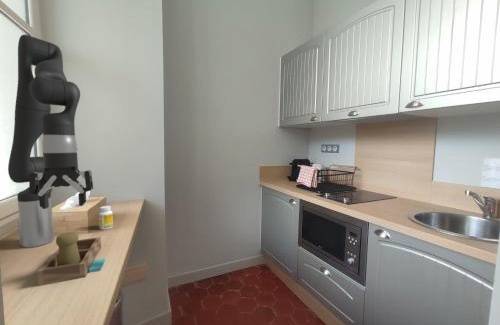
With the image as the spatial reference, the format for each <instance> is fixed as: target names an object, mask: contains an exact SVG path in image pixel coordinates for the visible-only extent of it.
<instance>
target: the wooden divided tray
mask: <svg viewBox="0 0 500 325" xmlns="http://www.w3.org/2000/svg"><path fill="white" fill-rule="evenodd" d="M77 247H78V251H79V255H80V259H81V262H80V263H73V264H67V265H61V266H57V261H58V251H59V248H58V249H57V250H56V251H55V252H54V253H53V254H52V255H51V256H50V257H49V258H48V259H47V260H46V261H45V262H44V263H43V264H42V266H41V267H40V268H38V270H37V271H36V274H37V275H36V276H37V286H43V285H49V284H54V283H59V282H64V281H65V282H66V281H70V280H71V281H72V280H76V279H81V278H86V277H87V275H88V273H93V272H98V271H99V272H100V271H101V270H102V268H103V267H104V264H105V262H106V259H105V258H100V259H96V258H97V256H98V254H99V253H100V251H101V249H102V238H101V236H98V237H92V238H85V239H78V241H77Z"/></svg>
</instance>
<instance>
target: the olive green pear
mask: <svg viewBox="0 0 500 325" xmlns="http://www.w3.org/2000/svg"><path fill="white" fill-rule="evenodd" d="M78 240H79V234H78V233H77V232H75V231H67V232H64V233H62V234H59V235H58V236H57V237H56V239H55V244H56V246H58V249H59V251H58V261H57V266H61V265H67V264H73V263H80V262H81V259H80V255H79V251H78V247H77V241H78Z"/></svg>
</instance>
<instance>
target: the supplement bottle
mask: <svg viewBox="0 0 500 325" xmlns="http://www.w3.org/2000/svg"><path fill="white" fill-rule="evenodd" d="M99 210H100V212H98V227H99V229H100V230H101V231H102V230H109V229H112V228H113V227H114V217H113V216H114V215H113V213H114V212H113V211H112V210H111V205H104V206H100V208H99Z"/></svg>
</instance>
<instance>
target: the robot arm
mask: <svg viewBox="0 0 500 325" xmlns="http://www.w3.org/2000/svg"><path fill="white" fill-rule="evenodd" d="M62 53H63V52H62V50H61V49H60V47H59V46H58V45H56V44H54V43H52V42H50V41H46V40H44V39H40V38H38V37H35V36H32V35H27V34H21V35H20V37H19V39H18V44H17V87H16V88H17V89H16V98H15V106H14V126H13V136H12V137H13V138H12V145H11V150H10V155H9V160H8V167H7V172H8V176H9V178H10V180H11V181H12V182H13V183H16V184H24V183H28V184H29V185H28V187H27V188H26V189H23V190H22V191H19V193H17V195H16V196H17V206H18V207H17V208H18V218H19V219H18V220H17V228H18V229H17V230H18V240H19V246H21V247H22V248H26V249H27V248H35V247H40V246H44V245H47V244H49V243H52V242H53V241H54V240H55V234H54V233H55V232H54V221H53V208H52V206H53V205H52V191H53V187H54V188H59V187H70V186H71V187H72V188H73V189H75V190H76V191H77V192H78V194H77V195H78V206H79V207H83V206H84V205H85V204H86V203H87V192H90V191H91V190H93V189H94V183H93V174H92V170H90V169H88V170H81V171H80V170H79V163H78V161H79V160H78V147H77V146H78V144H77V140H76V134H75V132H76V131H75V128H76V127H75V117H76V112H77V108H78V105H79V102H80V98H81V91H80V88H79V86H78V85H77V84H75V82H73V81H68V80H67V77H66V75H65V73H64V62H63V61H64V60H63V54H62ZM31 66H34V67H35V68H34V75H35V77H34V75H33V72H32V71H33V70H32V67H31ZM51 106H60V107H64V110H62V111H61V112H53V113H51V109H52V107H51ZM41 136H42V142H41V143H42V144H41V146H42V156H31V154H32V150H33V147H34V144H35V143H36V141H38V139H39V138H41ZM80 176H81V177H82V178H83V179H84V181H85V182H84V183H85V186H84V185H82V183H81V182H80V181H79V180H78V178H79V177H80Z"/></svg>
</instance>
